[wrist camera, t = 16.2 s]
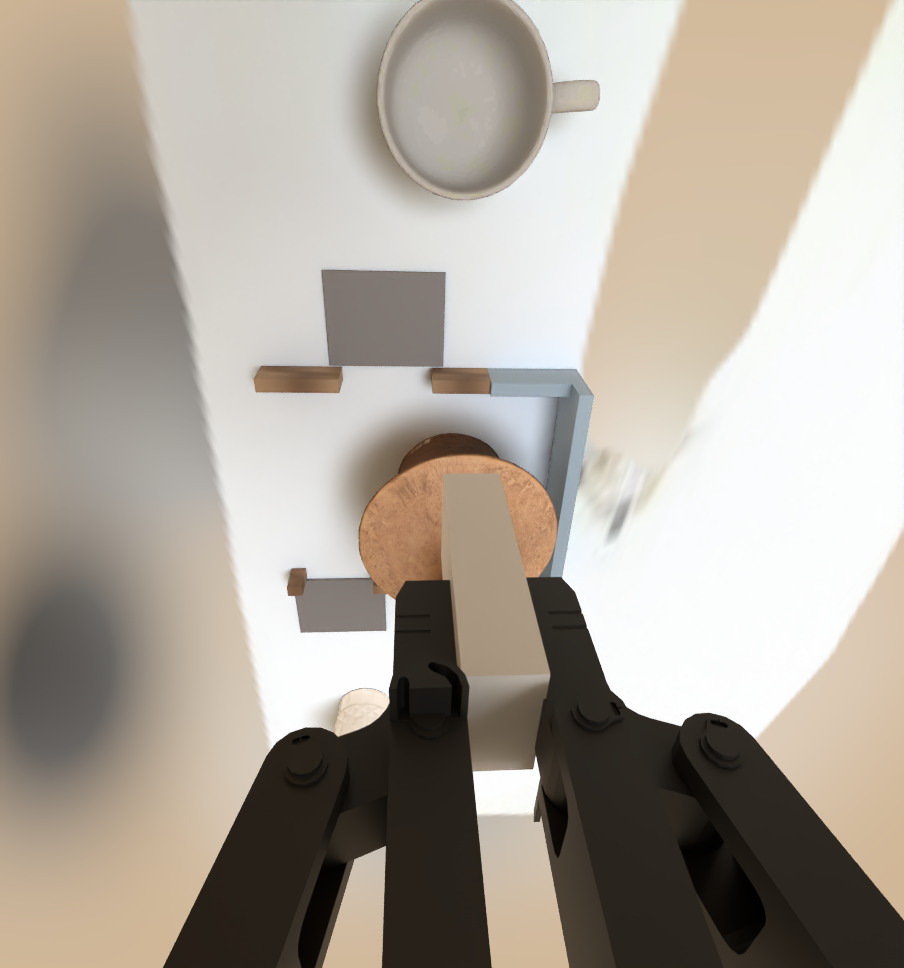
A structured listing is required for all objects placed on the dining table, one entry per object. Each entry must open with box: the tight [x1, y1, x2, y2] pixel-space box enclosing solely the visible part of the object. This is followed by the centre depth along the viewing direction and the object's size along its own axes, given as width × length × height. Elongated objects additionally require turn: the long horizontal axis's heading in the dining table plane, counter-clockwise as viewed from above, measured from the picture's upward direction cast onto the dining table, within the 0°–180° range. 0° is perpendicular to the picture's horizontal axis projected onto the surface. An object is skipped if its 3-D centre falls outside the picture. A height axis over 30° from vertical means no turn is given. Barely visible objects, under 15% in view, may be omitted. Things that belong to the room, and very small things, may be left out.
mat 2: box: [295, 578, 386, 632], centre depth 66 cm, size 10×8×1 cm
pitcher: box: [359, 433, 557, 600], centre depth 46 cm, size 18×17×28 cm
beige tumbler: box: [334, 688, 389, 737], centre depth 71 cm, size 8×8×10 cm
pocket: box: [487, 369, 594, 578], centre depth 56 cm, size 8×24×6 cm, turn 178°
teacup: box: [377, 0, 600, 200], centre depth 38 cm, size 14×11×8 cm
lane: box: [254, 366, 491, 596], centre depth 56 cm, size 20×24×3 cm
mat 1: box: [322, 270, 445, 367], centre depth 49 cm, size 10×8×1 cm
